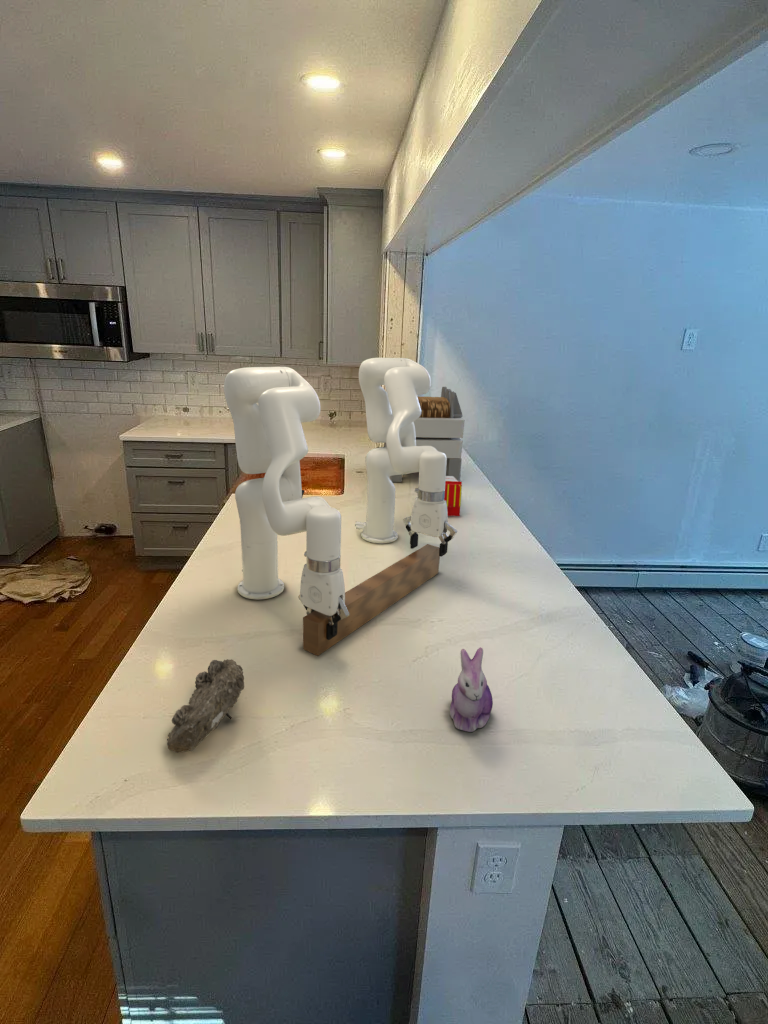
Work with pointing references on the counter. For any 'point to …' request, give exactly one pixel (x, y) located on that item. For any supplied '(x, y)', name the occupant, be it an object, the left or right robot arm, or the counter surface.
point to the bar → (372, 597)
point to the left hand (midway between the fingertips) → (323, 632)
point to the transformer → (440, 429)
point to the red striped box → (453, 495)
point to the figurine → (471, 694)
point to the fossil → (206, 705)
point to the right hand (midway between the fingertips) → (428, 551)
